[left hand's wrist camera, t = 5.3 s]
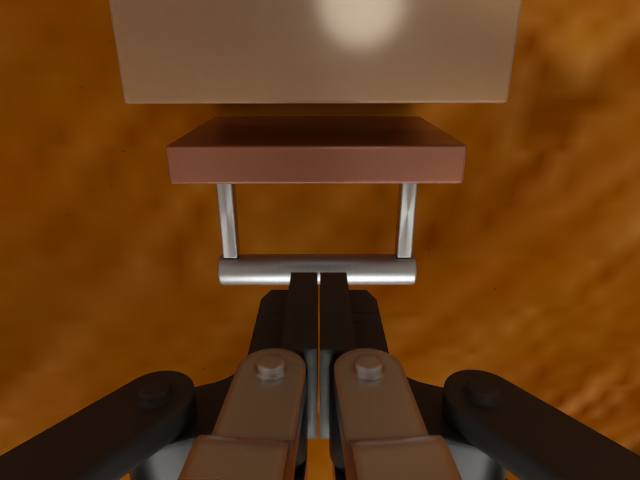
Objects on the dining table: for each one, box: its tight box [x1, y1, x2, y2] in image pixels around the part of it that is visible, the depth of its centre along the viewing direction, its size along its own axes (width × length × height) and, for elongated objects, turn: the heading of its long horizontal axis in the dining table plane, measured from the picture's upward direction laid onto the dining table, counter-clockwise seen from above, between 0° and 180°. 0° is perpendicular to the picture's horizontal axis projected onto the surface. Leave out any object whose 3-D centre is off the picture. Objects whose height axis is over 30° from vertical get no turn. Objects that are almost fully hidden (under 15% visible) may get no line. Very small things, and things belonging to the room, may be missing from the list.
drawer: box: [166, 117, 467, 285], centre depth 15 cm, size 20×9×7 cm, turn 0°
